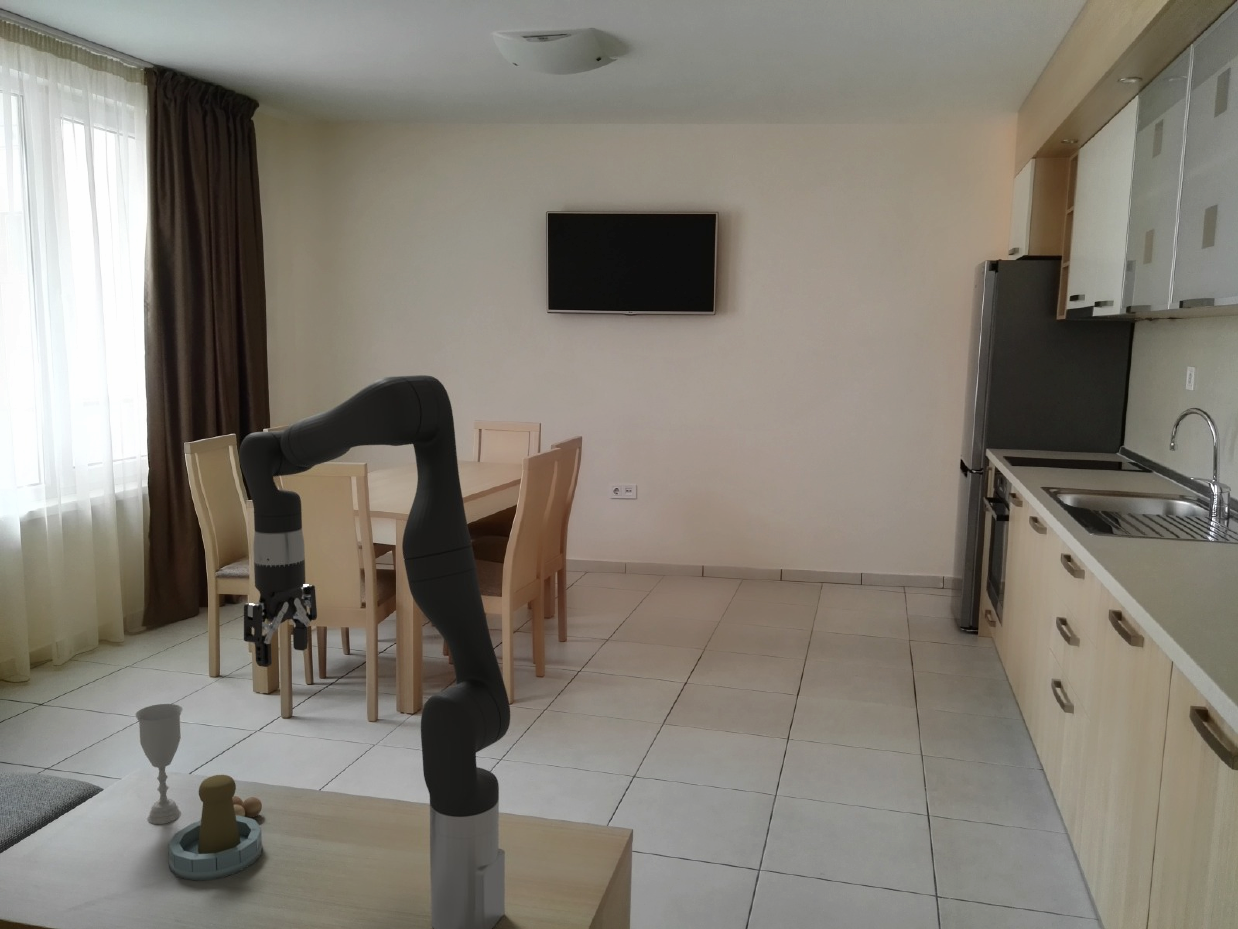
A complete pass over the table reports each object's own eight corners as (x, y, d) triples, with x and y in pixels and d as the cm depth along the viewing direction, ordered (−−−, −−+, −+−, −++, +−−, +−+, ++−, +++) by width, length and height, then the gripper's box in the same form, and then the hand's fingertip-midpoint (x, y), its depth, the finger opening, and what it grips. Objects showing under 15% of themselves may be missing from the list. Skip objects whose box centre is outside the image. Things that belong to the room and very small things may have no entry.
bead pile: (265, 811, 157) (265, 793, 156) (250, 829, 151) (250, 811, 150) (227, 810, 157) (227, 792, 156) (211, 828, 151) (210, 810, 150)
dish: (280, 844, 146) (279, 825, 146) (217, 888, 134) (216, 867, 134) (215, 827, 151) (215, 808, 151) (149, 868, 139) (148, 848, 139)
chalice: (196, 813, 155) (191, 710, 153) (157, 831, 150) (152, 724, 147) (170, 801, 159) (165, 700, 157) (131, 818, 153) (126, 713, 151)
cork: (224, 860, 140) (221, 790, 138) (189, 854, 141) (186, 785, 140) (248, 839, 145) (246, 772, 144) (214, 834, 147) (212, 767, 145)
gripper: (267, 569, 138) (271, 675, 140) (328, 550, 152) (330, 647, 154) (227, 565, 141) (231, 669, 143) (290, 546, 154) (293, 641, 156)
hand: (283, 657), depth 148 cm, fingers open, 8 cm apart
